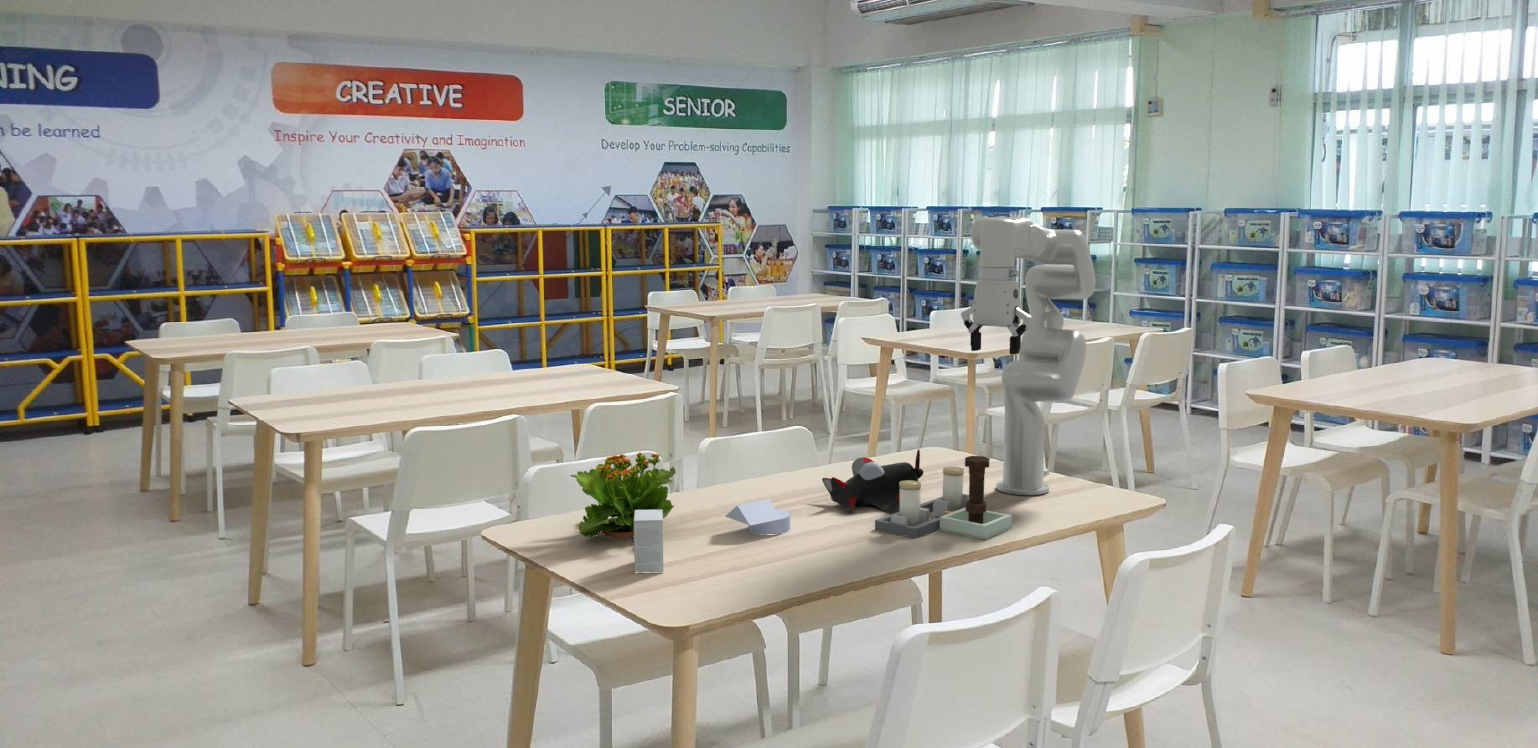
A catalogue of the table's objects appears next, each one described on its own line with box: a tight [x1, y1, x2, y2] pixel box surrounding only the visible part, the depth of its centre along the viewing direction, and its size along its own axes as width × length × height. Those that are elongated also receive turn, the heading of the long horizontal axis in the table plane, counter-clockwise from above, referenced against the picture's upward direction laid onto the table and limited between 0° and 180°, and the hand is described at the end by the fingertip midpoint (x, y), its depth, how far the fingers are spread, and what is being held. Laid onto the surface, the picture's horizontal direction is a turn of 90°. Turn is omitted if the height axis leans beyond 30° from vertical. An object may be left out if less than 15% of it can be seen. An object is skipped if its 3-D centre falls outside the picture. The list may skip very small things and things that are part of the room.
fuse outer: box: [899, 480, 922, 527], centre depth 252 cm, size 5×5×10 cm
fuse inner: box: [942, 466, 965, 512], centre depth 265 cm, size 5×5×10 cm
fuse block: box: [874, 493, 969, 539], centre depth 259 cm, size 11×28×4 cm, turn 139°
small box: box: [633, 510, 664, 573], centre depth 226 cm, size 8×6×10 cm
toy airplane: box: [821, 449, 924, 515], centre depth 274 cm, size 28×24×15 cm
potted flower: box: [569, 451, 677, 539], centre depth 250 cm, size 25×24×18 cm
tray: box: [939, 507, 1012, 541], centre depth 251 cm, size 11×11×3 cm
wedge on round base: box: [724, 498, 791, 535], centre depth 251 cm, size 9×7×13 cm
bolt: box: [964, 455, 990, 524], centre depth 250 cm, size 6×5×15 cm
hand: (995, 352), depth 262 cm, fingers open, 9 cm apart
